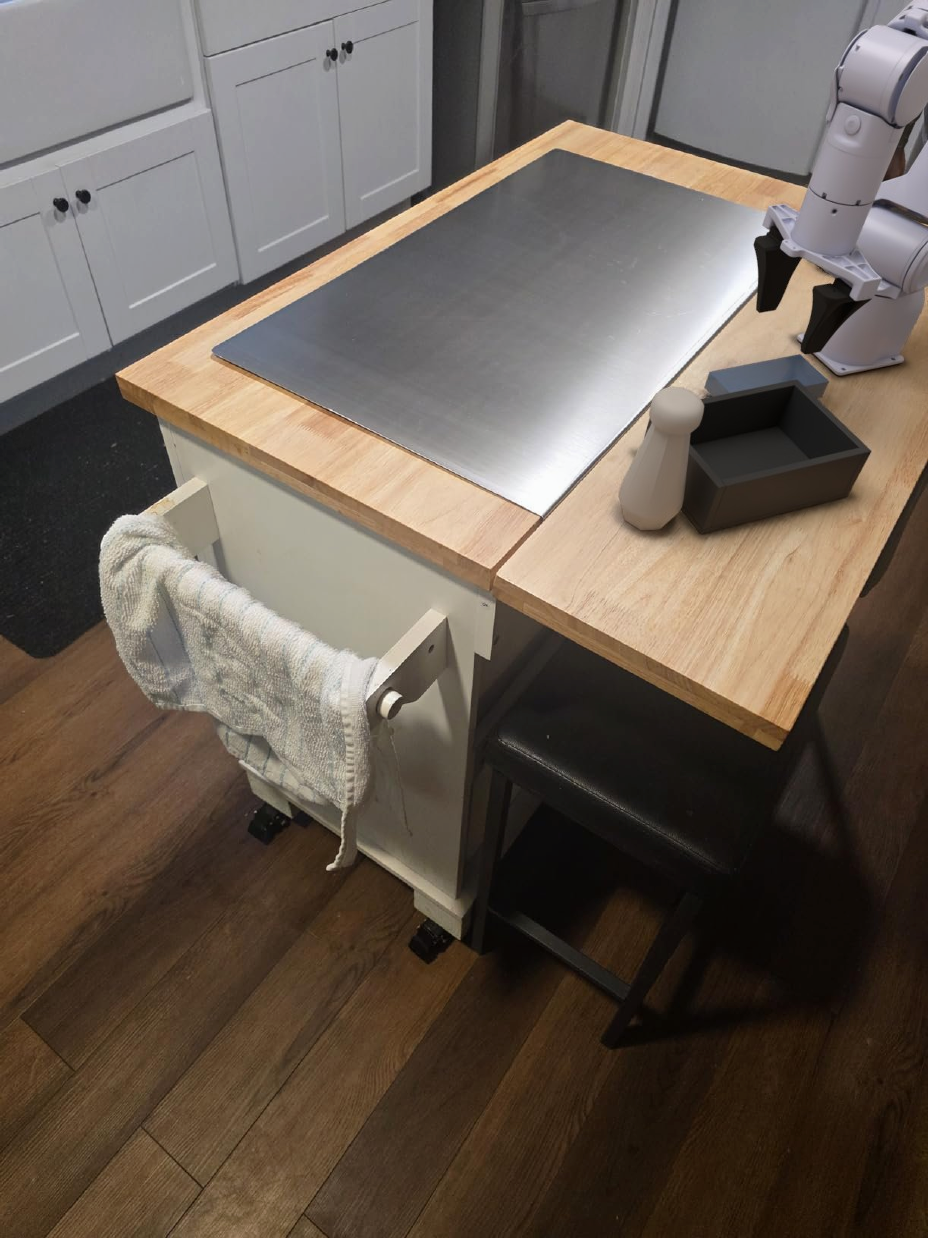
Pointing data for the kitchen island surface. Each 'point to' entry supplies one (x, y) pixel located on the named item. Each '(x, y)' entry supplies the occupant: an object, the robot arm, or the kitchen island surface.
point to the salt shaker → (661, 460)
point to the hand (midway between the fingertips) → (787, 329)
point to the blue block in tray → (767, 376)
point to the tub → (767, 456)
